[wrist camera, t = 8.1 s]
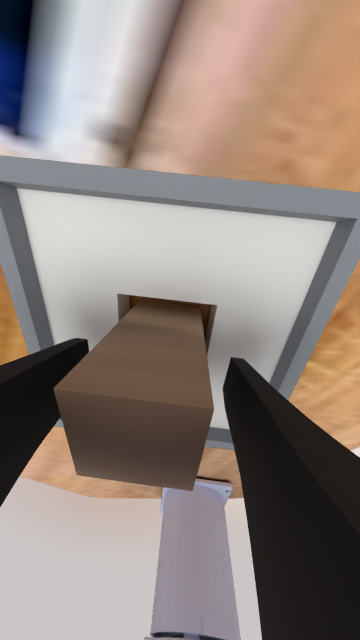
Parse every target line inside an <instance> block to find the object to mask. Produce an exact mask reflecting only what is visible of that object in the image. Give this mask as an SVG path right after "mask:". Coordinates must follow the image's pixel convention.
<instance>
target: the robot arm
mask: <svg viewBox="0 0 360 640" xmlns="http://www.w3.org/2000/svg"><path fill="white" fill-rule="evenodd" d="M88 353H89V346H88V339H81V338H74V339H70V340H67V341H64V342H61V343H59V344H56V345H53V346H51V347H48V348H46V349H43V350H40V351H38V352H35V353H33V354H30V355H28V356H25V357H22V358H20V359H17V360H14V361H11V362H9V363H6V364H3V365H0V507H1V505H2V503H3V502H4V500H5V499H6V497H7V495H8V494H9V492H10V490H11V489H12V487H13V485H14V484H15V482H16V480H17V479H18V477H19V476H20V474H21V473H22V471H23V470H24V468H25V467H26V465H27V464H28V462H29V461H30V459H31V457H32V456H33V454H34V453H35V451H36V450H37V448H38V447H39V445H40V444H41V443H42V441H43V440H44V439H45V437H46V436H47V434H48V433H49V432H50V431H51V429H52V428H53V427H54V425H55V424H56V423H57V421H58V420H59V419H60V418H61V415H60V411H59V407H58V404H57V400H56V396H55V393H54V389H53V388H54V387H55V386H56V385H57V384H58V383H59V382H60V381H61V380H62V379H63V378H64V377H65V376H66V375H67V374H68V373H69V372H70V371H71V370H72V369H73V368H74V367H75V366H76V365H77V364H78V363H79V362H80V361H81V360H82V359H83V358H84V357H85V356H86V355H87V354H88ZM222 389H223V398H224V406H225V412H226V416H227V420H228V424H229V429H230V433H231V437H232V441H233V445H234V449H235V454H236V458H237V462H238V467H239V472H240V477H241V483H242V489H243V496H244V502H245V508H246V515H247V521H248V529H249V536H250V542H251V550H252V558H253V566H254V574H255V582H256V590H257V598H258V606H259V615H260V623H261V632H262V640H360V457H358V456H357V455H355V454H354V453H353V452H351V451H350V450H349V449H347V448H346V447H345V446H343V445H342V444H341V443H339V442H338V441H337V440H335V439H334V438H333V437H331V436H330V435H329V434H328V433H326V432H325V431H324V430H323V429H321V428H320V427H319V426H317V425H316V424H315V423H314V422H312V421H311V420H310V419H309V418H308V417H306V416H305V415H304V414H303V413H302V412H300V411H299V410H298V409H297V408H296V407H295V406H294V405H292V404H291V403H290V402H289V401H288V400H287V399H286V398H285V397H283V396H282V395H281V394H280V393H279V392H278V391H277V390H276V389H275V388H274V387H273V386H272V385H271V384H269V383H268V382H267V381H266V380H265V379H264V378H263V377H262V376H261V375H260V374H259V373H258V372H257V371H256V370H255V369H254V368H253V367H252V366H251V365H250V364H249V363H248V362H247V361H246V360H244V359H243V358H235V357H231V359H230V362H229V366H228V370H227V373H226V377H225V381H224V384H223V388H222ZM231 491H232V485H231V484H230V483H226V482H219V481H211V480H204V479H197V478H196V480H195V484H194V488H193V491H187V490H180V489H172V488H165V487H163V491H162V500H161V508H160V513H161V514H162V515H163V522H162V530H161V540H160V549H159V559H158V569H157V578H156V586H155V596H154V605H153V615H152V624H151V633H150V635H151V636H152V637H145V638H144V640H241V639H240V631H239V623H238V616H237V607H236V599H235V591H234V583H233V575H232V567H231V558H230V551H229V543H228V534H227V526H226V518H225V510H224V506H225V504H226V502H227V500H228V498H229V495H230V493H231Z"/></svg>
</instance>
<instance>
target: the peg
mask: <svg viewBox="0 0 360 640" xmlns="http://www.w3.org/2000/svg"><path fill="white" fill-rule="evenodd" d="M53 389H54V393H55V396H56V400H57V404H58V407H59V411H60V415H61V418H62V422H63V426H64V429H65V433H66V437H67V440H68V444H69V448H70V451H71V455H72V459H73V462H74V466H75V470H76V473H77V475H79V476H86V477H93V478H101V479H108V480H115V481H122V482H129V483H136V484H144V485H151V486H158V487H165V488H172V489H180V490H187V491H193V488H194V484H195V480H196V477H197V473H198V469H199V465H200V462H201V458H202V454H203V450H204V446H205V443H206V439H207V435H208V431H209V427H210V424H211V420H212V416H213V412H214V404H213V397H212V389H211V382H210V375H209V368H208V360H207V353H206V346H205V339H204V331H203V324H202V317H201V310H200V305H193V304H185V303H176V302H168V301H159V300H151V299H141V300H140V301H139V302H138V303H137V304H136V305H135V306H134V307H133V308H132V309H131V310H130V311H129V312H128V313H127V314H126V315H125V316H124V317H123V318H122V319H121V320H120V321H119V322H118V323H117V324H116V325H115V326H114V327H113V328H112V329H111V330H110V331H109V332H108V333H107V334H106V335H105V337H104V338H103V339H102V340H101V341H100V342H99V343H98V344H97V345H96V346H95V347H94V348H93V349H92V350H91V351H90V352H89V353H88V354H87V355H86V356H85V357H84V358H83V359H82V360H81V361H80V362H79V363H78V364H77V365H76V366H75V367H74V368H73V369H72V370H71V371H70V372H69V373H68V374H67V375H66V376H65V377H64V378H63V379H62V380H61V381H60V382H59V383H58V384H57V385H56V386H55V387H54V388H53Z"/></svg>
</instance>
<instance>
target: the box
mask: <svg viewBox="0 0 360 640" xmlns="http://www.w3.org/2000/svg"><path fill="white" fill-rule="evenodd" d="M359 258H360V192H351V191H341V190H332V189H322V188H312V187H302V186H293V185H283V184H273V183H264V182H254V181H244V180H234V179H225V178H215V177H205V176H195V175H186V174H176V173H166V172H157V171H147V170H137V169H127V168H118V167H108V166H98V165H89V164H79V163H69V162H59V161H50V160H40V159H30V158H20V157H11V156H1V155H0V263H1V266H2V269H3V273H4V276H5V279H6V282H7V285H8V288H9V292H10V295H11V298H12V301H13V304H14V307H15V311H16V314H17V317H18V320H19V323H20V326H21V329H22V333H23V336H24V339H25V342H26V345H27V348H28V352H29V355H30V354H33V353H35V352H38V351H40V350H43V349H46V348H48V347H51V346H53V345H56V344H59V343H61V342H64V341H67V340H70V339H74V338H81V339H88V346H89V352H90V351H91V350H92V349H93V348H94V347H95V346H96V345H97V344H98V343H99V342H100V341H101V340H102V339H103V338H104V337H105V335H106V334H107V333H108V332H109V331H110V330H111V329H112V328H113V327H114V326H115V325H116V324H117V323H118V322H119V321H120V320H121V319H122V318H123V317H124V316H125V315H126V314H127V313H128V312H129V311H130V295H134V296H143V297H151V298H160V299H168V300H177V301H185V302H194V303H202V304H211V310H210V316H209V321H208V326H207V332H206V337H205V346H206V353H207V360H208V368H209V375H210V382H211V389H212V397H213V404H214V412H213V416H212V420H211V424H210V427H209V431H208V435H207V439H206V443H205V446H206V447H214V448H221V449H229V450H235V449H234V445H233V441H232V437H231V433H230V429H229V424H228V420H227V416H226V412H225V406H224V398H223V389H222V388H223V384H224V381H225V377H226V373H227V370H228V366H229V362H230V359H231V357H235V358H243V359H244V360H246V361H247V362H248V363H249V364H250V365H251V366H252V367H253V368H254V369H255V370H256V371H257V372H258V373H259V374H260V375H261V376H262V377H263V378H264V379H265V380H266V381H267V382H268V383H269V384H271V385H272V386H273V387H274V388H275V389H276V390H277V391H278V392H279V393H280V394H281V395H282V396H283V397H285V398H286V399H287V400H288V399H289V397H290V395H291V393H292V391H293V389H294V387H295V385H296V383H297V381H298V379H299V377H300V375H301V373H302V371H303V369H304V367H305V365H306V363H307V362H308V360H309V358H310V356H311V354H312V352H313V350H314V348H315V346H316V344H317V342H318V340H319V338H320V336H321V334H322V332H323V330H324V328H325V326H326V324H327V322H328V320H329V318H330V316H331V314H332V312H333V310H334V308H335V306H336V304H337V302H338V300H339V298H340V296H341V294H342V292H343V290H344V288H345V286H346V284H347V282H348V280H349V278H350V276H351V274H352V272H353V270H354V268H355V266H356V264H357V262H358V260H359ZM54 426H56V427H64V426H63V422H62V418H60V419H59V420H58V421H57V423H56V424H55V425H54Z"/></svg>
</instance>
